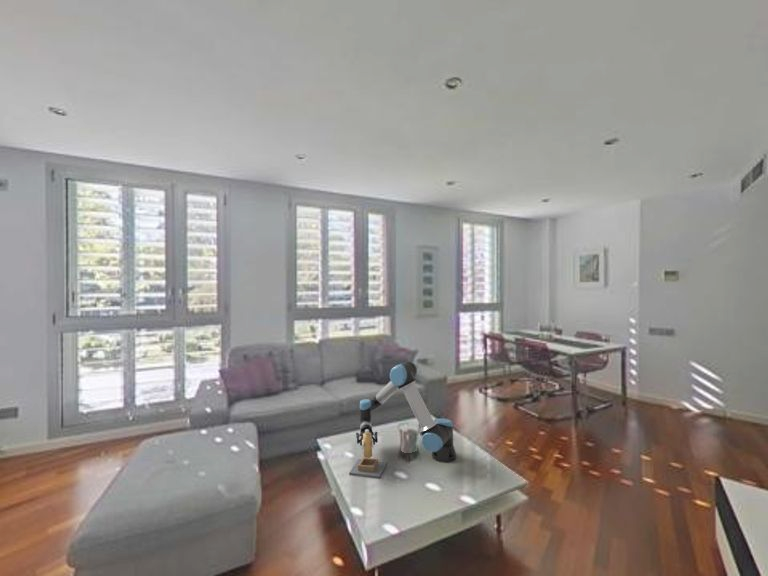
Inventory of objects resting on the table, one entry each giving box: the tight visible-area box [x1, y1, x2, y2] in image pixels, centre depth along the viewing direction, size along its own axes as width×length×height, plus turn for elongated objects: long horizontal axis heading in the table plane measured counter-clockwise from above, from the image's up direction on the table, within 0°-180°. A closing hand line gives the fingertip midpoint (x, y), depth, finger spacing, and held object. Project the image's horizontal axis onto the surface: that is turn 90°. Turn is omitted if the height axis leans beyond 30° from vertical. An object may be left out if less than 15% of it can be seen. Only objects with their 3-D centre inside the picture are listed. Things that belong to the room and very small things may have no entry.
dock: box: [349, 457, 387, 479], centre depth 214 cm, size 18×16×4 cm
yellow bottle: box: [363, 429, 373, 458], centre depth 214 cm, size 5×5×16 cm
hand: (367, 446), depth 209 cm, fingers closed on yellow bottle, 5 cm apart
